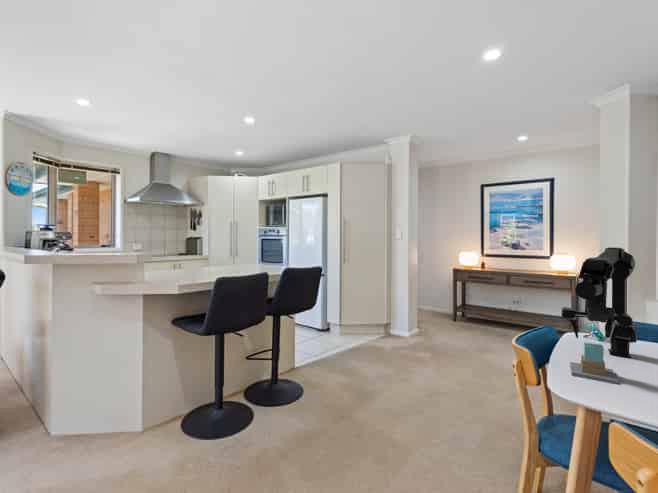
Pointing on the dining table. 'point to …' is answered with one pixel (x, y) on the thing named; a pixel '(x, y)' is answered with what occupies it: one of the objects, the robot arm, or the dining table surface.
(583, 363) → the walnut base block
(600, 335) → the stick construction toy
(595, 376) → the slate board
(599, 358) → the teal cube
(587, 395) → the dining table surface
